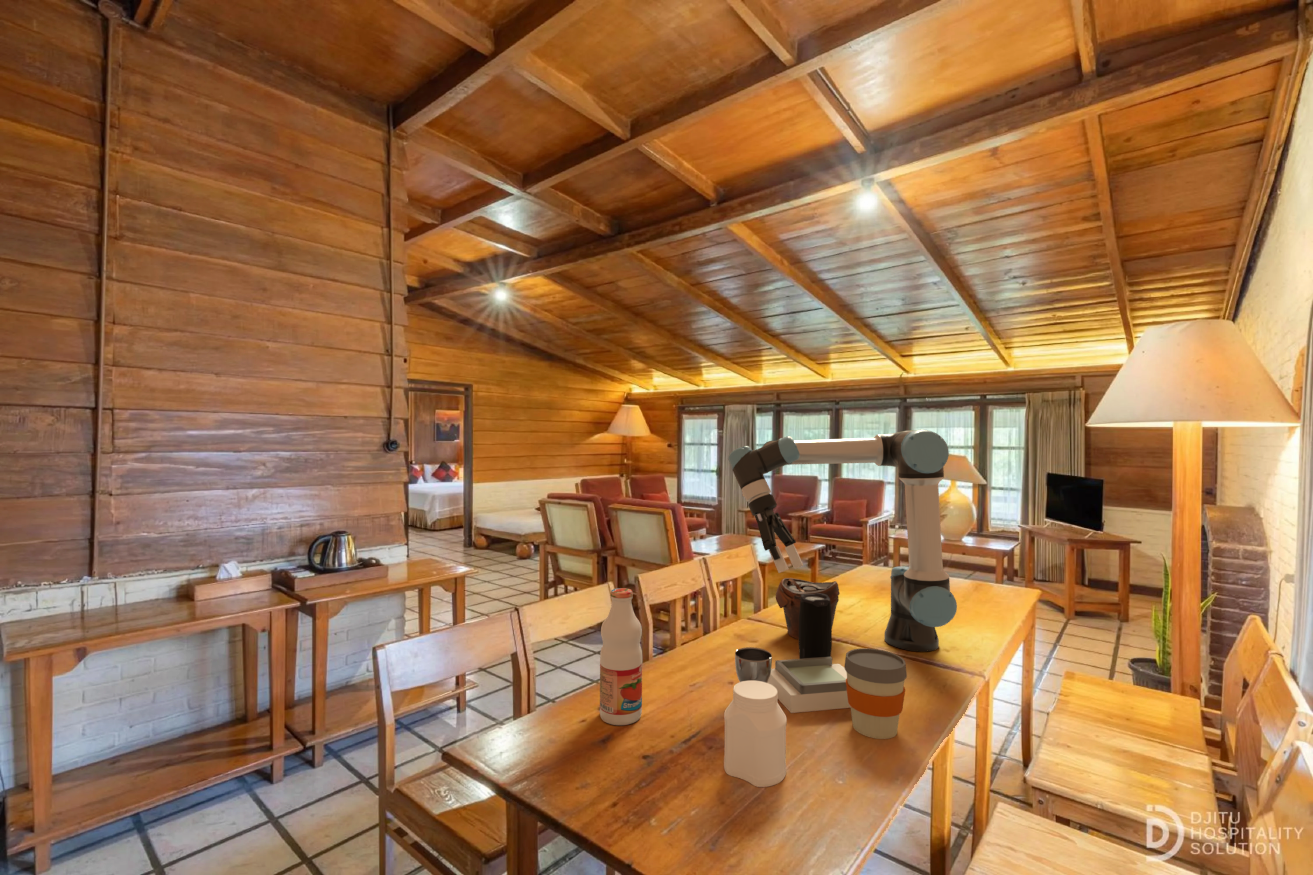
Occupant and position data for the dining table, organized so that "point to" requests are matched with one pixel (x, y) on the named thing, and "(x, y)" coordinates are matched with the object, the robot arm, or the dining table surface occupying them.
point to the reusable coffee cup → (875, 691)
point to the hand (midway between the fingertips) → (791, 569)
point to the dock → (810, 684)
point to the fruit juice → (621, 662)
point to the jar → (755, 734)
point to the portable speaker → (815, 626)
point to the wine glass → (753, 664)
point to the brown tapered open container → (790, 599)
